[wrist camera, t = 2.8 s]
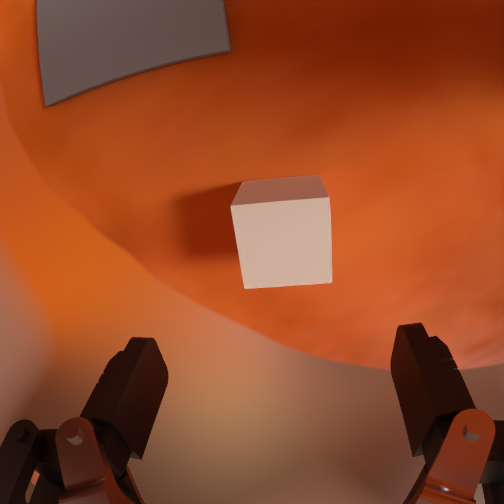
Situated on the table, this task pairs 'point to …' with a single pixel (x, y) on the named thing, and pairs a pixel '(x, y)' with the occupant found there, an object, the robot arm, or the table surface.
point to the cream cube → (283, 231)
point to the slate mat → (122, 40)
